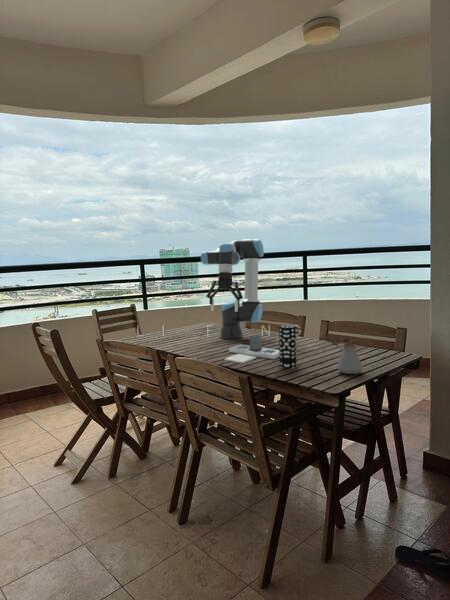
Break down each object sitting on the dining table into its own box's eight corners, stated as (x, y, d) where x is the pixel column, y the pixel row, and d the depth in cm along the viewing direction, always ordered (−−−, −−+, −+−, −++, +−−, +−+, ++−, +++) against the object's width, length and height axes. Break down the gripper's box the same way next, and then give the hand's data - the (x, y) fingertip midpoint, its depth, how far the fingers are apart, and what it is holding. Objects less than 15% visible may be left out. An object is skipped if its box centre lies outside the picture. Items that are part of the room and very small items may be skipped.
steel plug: (254, 352, 236) (254, 334, 234) (261, 353, 233) (261, 335, 231) (250, 354, 232) (249, 336, 231) (256, 355, 229) (256, 337, 228)
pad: (238, 355, 230) (238, 353, 230) (256, 358, 222) (256, 356, 222) (224, 360, 221) (224, 358, 221) (242, 363, 213) (242, 361, 213)
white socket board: (229, 351, 238) (229, 347, 238) (240, 348, 246) (239, 344, 245) (273, 359, 219) (273, 354, 219) (283, 355, 227) (283, 350, 226)
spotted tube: (286, 369, 200) (285, 328, 197) (276, 365, 207) (275, 326, 205) (300, 367, 204) (299, 326, 201) (289, 363, 211) (289, 324, 209)
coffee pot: (368, 373, 190) (368, 341, 188) (350, 378, 184) (351, 344, 182) (332, 363, 208) (332, 333, 206) (315, 367, 202) (315, 337, 200)
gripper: (205, 270, 221) (203, 310, 220) (249, 273, 228) (248, 311, 227) (201, 271, 228) (200, 310, 227) (244, 274, 235) (243, 312, 235)
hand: (224, 311), depth 227 cm, fingers open, 13 cm apart
